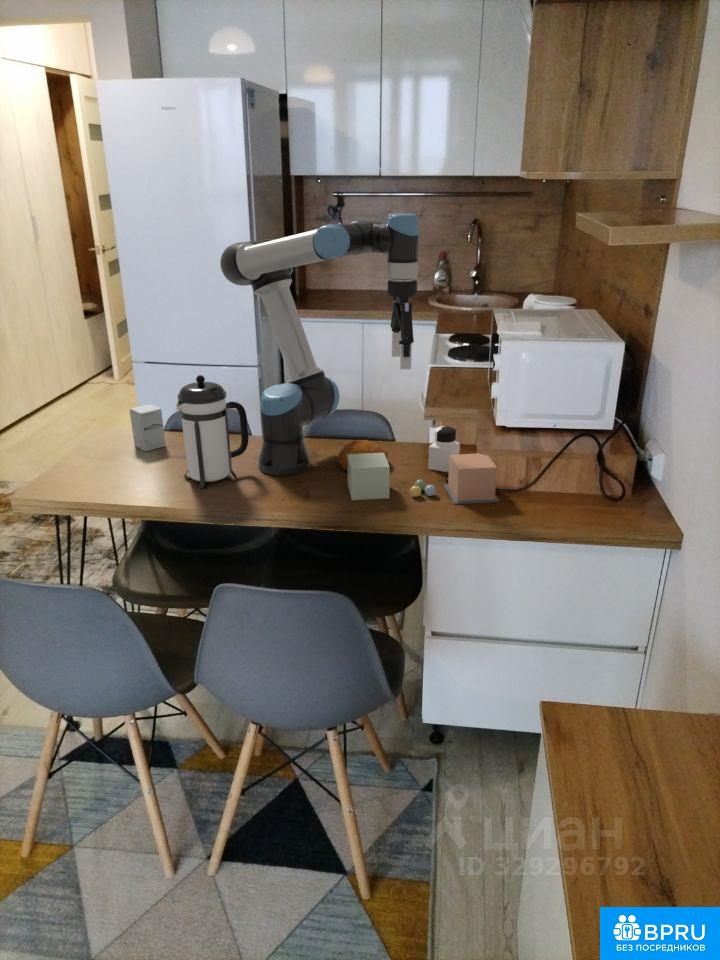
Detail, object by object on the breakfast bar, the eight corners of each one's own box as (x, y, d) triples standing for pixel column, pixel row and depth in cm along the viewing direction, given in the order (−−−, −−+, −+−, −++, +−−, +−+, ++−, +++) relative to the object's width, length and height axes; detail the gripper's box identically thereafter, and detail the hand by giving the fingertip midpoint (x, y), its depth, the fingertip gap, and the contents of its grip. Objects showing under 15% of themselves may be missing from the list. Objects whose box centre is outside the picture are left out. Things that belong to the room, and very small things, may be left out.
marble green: (415, 492, 186) (415, 482, 184) (413, 488, 188) (413, 478, 187) (426, 492, 186) (426, 481, 185) (424, 487, 189) (424, 477, 187)
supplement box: (145, 452, 214) (139, 413, 209) (134, 446, 219) (128, 408, 214) (166, 446, 219) (161, 408, 214) (155, 440, 224) (150, 403, 219)
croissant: (333, 478, 200) (331, 454, 196) (347, 452, 213) (345, 429, 209) (382, 482, 197) (380, 458, 192) (393, 455, 209) (392, 432, 205)
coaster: (454, 504, 179) (454, 503, 178) (443, 485, 190) (443, 484, 189) (499, 501, 180) (499, 500, 180) (486, 483, 191) (486, 481, 191)
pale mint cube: (351, 500, 181) (351, 468, 178) (347, 484, 191) (347, 454, 187) (389, 498, 182) (389, 466, 179) (383, 482, 192) (383, 452, 188)
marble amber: (410, 499, 182) (411, 488, 181) (408, 494, 185) (408, 484, 183) (422, 498, 182) (422, 488, 181) (419, 493, 185) (420, 483, 184)
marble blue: (425, 498, 182) (426, 487, 181) (423, 493, 185) (423, 483, 184) (436, 497, 183) (437, 487, 181) (434, 492, 185) (434, 482, 184)
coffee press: (229, 492, 187) (219, 384, 174) (174, 488, 190) (161, 381, 177) (251, 468, 202) (243, 367, 190) (200, 464, 205) (189, 364, 193)
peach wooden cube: (457, 501, 180) (458, 469, 176) (448, 485, 189) (449, 454, 185) (494, 499, 181) (497, 467, 177) (483, 483, 190) (486, 453, 186)
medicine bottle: (459, 464, 203) (461, 426, 198) (451, 473, 197) (453, 433, 193) (436, 461, 206) (437, 422, 201) (427, 469, 200) (429, 430, 195)
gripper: (427, 286, 163) (424, 374, 172) (408, 272, 186) (406, 351, 194) (395, 286, 162) (394, 375, 171) (380, 273, 185) (380, 352, 194)
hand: (401, 362), depth 183 cm, fingers open, 13 cm apart
